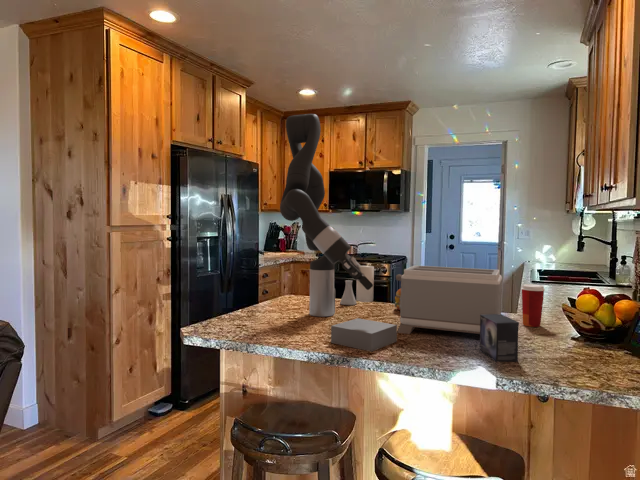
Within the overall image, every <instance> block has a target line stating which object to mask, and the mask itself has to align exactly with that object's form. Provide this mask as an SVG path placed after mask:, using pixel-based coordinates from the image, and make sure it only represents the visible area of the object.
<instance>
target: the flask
mask: <svg viewBox="0 0 640 480" xmlns="http://www.w3.org/2000/svg"><path fill="white" fill-rule="evenodd" d="M344 282H345V287H344V291H343V295H342V296H341V300H340V302H339V304H340V305H345V306H354V305H357V304H358V303H357V300H356V296H355V294H354V290H353V280H349V279H348V280H344Z"/></svg>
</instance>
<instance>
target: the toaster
mask: <svg viewBox="0 0 640 480" xmlns="http://www.w3.org/2000/svg"><path fill="white" fill-rule="evenodd" d="M395 279H396V281H397V282H400V288H401V297H400V299H399V300H400V306H399V309H400V310H399V311H400V313H399V314H400V315H399V316H400V317H399V322H400V323H399V327H397V334H398V333H399V334H404V335H405V334H408V335H410V334H411V333H412V332H413V331H414V329H415V328H421V329H431V330H438V331H450V332H458V333H467V334H477V335H480V315H486V314H502V293H503V276H502V274H500V269H491V268H490V269H489V268H471V267H455V266H454V267H452V266H451V267H449V266H434V265H433V266H432V265H431V266H430V265H412V266H410V267H408V268H404V269H403V274H400V273H399V274H396V275H395Z"/></svg>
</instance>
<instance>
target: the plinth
mask: <svg viewBox="0 0 640 480" xmlns="http://www.w3.org/2000/svg"><path fill="white" fill-rule="evenodd" d="M397 331H398V325H397V324H392V323H387V322H383V321H382V322H381V321H377V320H376V321H375V320H370V319H364V318H358V317H356V318H355V319H350V320H346V321H343V322H340V323H337V324H334V325H332V324H331V325H330V343H331V344H334V345H335V344H336V345H340V346H344V347H345V346H346V347H347V348H348V347H349V348H353V349H357V350H358V349H359V350H363V351H368V352H371V353H372V352H374V351H377V350H379V349H381V348H385V347H386V346H389V345H392V344H393V343H397V342H398V341H397V340H398V338H397V336H398V335H397V334H398V333H397Z"/></svg>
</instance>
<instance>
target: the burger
mask: <svg viewBox="0 0 640 480" xmlns="http://www.w3.org/2000/svg"><path fill="white" fill-rule="evenodd" d="M400 297H401V287H400V288H399V289H398V290H397V291H396V292H395V296H394V299H395V300H394V301H395V302H394V308H396V309H397V310H399V311H400V309H399V306H400V300H399V299H400Z"/></svg>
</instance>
